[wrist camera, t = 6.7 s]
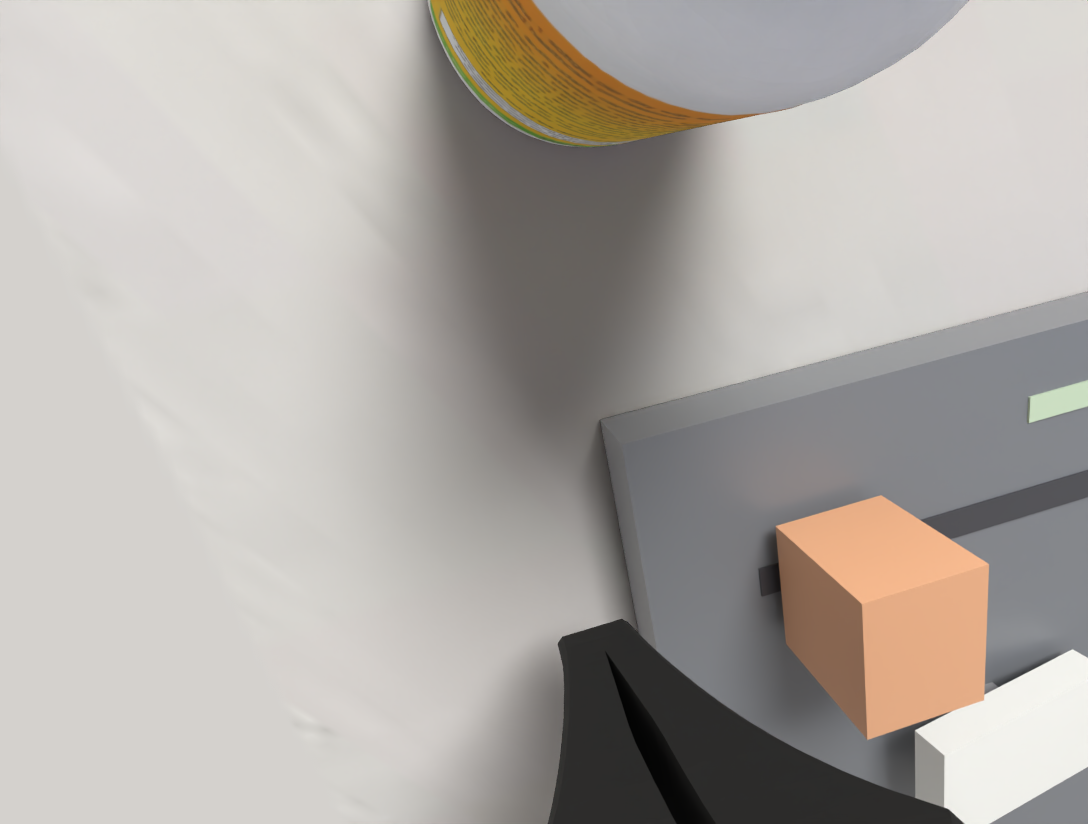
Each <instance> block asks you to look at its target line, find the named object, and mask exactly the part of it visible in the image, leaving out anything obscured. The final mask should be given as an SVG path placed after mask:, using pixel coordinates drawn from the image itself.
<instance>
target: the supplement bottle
mask: <svg viewBox="0 0 1088 824" xmlns="http://www.w3.org/2000/svg"><path fill="white" fill-rule="evenodd" d="M968 1H969V0H427V2H428V7H429V10H430V14H431V17H432V21H433V24H434V27H435V29H436V32H437V35H438V38H439V40H440V42H441V44H442V47H443V49H444V51H445V53H446V55H447V57H448V59H449V61H450V62H451V64H452V66H453V68H454V69H455V71H456V72H457V74H458V75H459V77H460V78H461V80H462V81H463V83H464V84H465V85H466V86H467V88H468V89H469V90H470V91H471V93H472V94H473V95H474V96H475V97H476V98H477V99H478V100H479V102H480V103H481V104H482V105H484V106H485V107H486V108H487V109H488V110H489V111H490V112H491V113H493V114H494V115H495V116H496V117H498V118H499V119H500V120H502V121H503V122H505V123H506V124H508V125H509V126H511V127H513V128H514V129H516V130H518V131H520V132H522V133H524V134H526V135H528V136H530V137H533V138H536V139H539V140H542V141H545V142H548V143H553V144H558V145H564V146H570V147H599V146H611V145H617V144H623V143H628V142H631V141H636V140H640V139H645V138H650V137H654V136H659V135H664V134H669V133H673V132H678V131H683V130H688V129H693V128H697V127H702V126H707V125H712V124H717V123H722V122H726V121H731V120H736V119H741V118H746V117H750V116H755V115H760V114H766V113H771V112H776V111H781V110H786V109H790V108H794V107H797V106H799V105H802V104H805V103H808V102H812V101H815V100H819V99H822V98H825V97H828V96H830V95H833V94H835V93H837V92H840V91H842V90H845V89H847V88H850V87H852V86H854V85H856V84H858V83H860V82H862V81H864V80H865V79H867V78H869V77H871V76H873V75H875V74H877V73H878V72H880V71H882V70H884V69H886V68H888V67H890V66H891V65H893V64H895V63H896V62H898V61H899V60H901V59H902V58H904V57H905V56H907V55H908V54H910V53H911V52H913V51H914V50H916V49H917V48H919V47H920V46H921V45H922V44H924V43H925V42H926V41H927V40H928V39H930V38H931V37H932V36H933V35H934V34H935V33H937V32H938V31H939V30H940V29H941V28H942V27H943V26H944V25H945V24H946V23H947V22H949V21H950V20H951V19H952V18H953V17H954V16H955V15H956V14H957V13H958V11H959V10H960V9H961V8H962V7H963V6H964V5H965V4H966V3H967V2H968Z"/></svg>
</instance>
